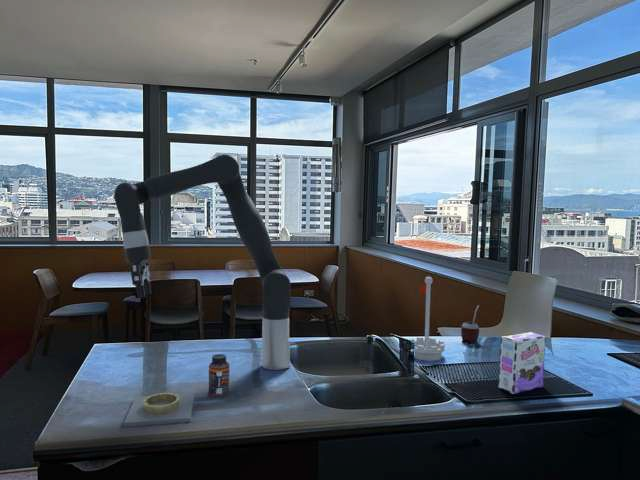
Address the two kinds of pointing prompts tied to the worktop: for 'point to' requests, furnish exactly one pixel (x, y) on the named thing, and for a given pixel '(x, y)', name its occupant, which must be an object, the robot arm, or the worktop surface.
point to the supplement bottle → (218, 376)
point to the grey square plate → (179, 415)
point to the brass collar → (164, 408)
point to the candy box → (521, 362)
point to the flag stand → (429, 346)
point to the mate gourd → (470, 331)
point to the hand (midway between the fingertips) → (144, 296)
